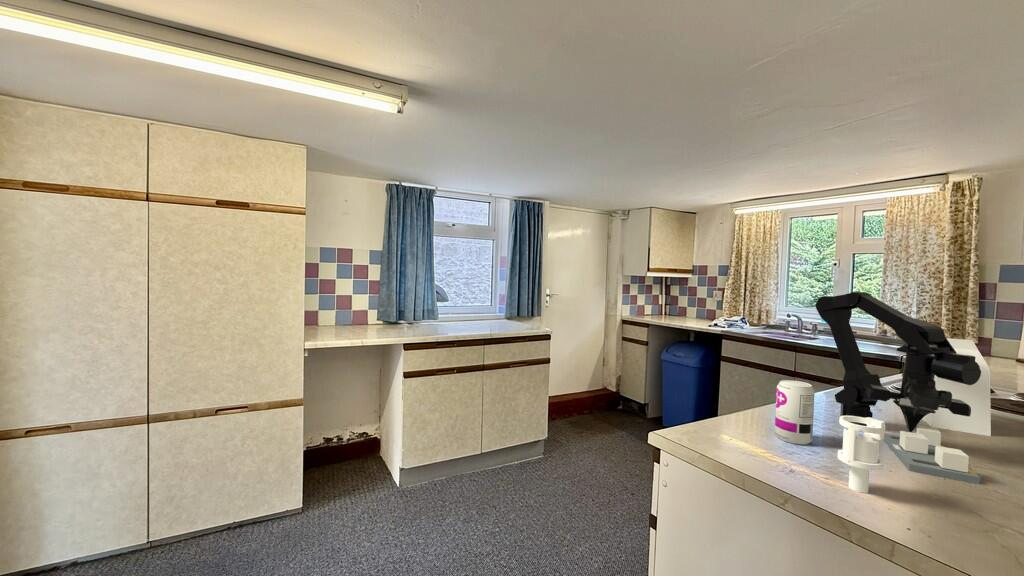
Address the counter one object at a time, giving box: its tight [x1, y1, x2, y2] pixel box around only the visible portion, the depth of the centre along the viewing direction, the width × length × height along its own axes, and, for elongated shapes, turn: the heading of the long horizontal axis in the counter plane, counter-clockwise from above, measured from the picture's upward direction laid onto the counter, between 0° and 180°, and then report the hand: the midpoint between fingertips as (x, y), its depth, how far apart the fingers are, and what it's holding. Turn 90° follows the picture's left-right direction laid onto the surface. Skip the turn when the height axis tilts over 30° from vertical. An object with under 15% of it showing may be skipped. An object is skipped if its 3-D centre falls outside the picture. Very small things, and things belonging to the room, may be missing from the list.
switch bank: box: [882, 432, 981, 485], centre depth 98 cm, size 11×22×2 cm, turn 150°
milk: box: [921, 337, 992, 437], centre depth 122 cm, size 12×12×26 cm
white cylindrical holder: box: [837, 416, 886, 494], centre depth 82 cm, size 7×7×15 cm
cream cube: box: [912, 424, 942, 446], centre depth 104 cm, size 4×4×4 cm
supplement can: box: [774, 379, 816, 446], centre depth 108 cm, size 8×8×15 cm
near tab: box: [935, 446, 970, 472], centre depth 90 cm, size 4×4×4 cm
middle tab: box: [899, 430, 928, 454], centre depth 99 cm, size 4×4×4 cm
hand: (910, 431), depth 106 cm, fingers closed
